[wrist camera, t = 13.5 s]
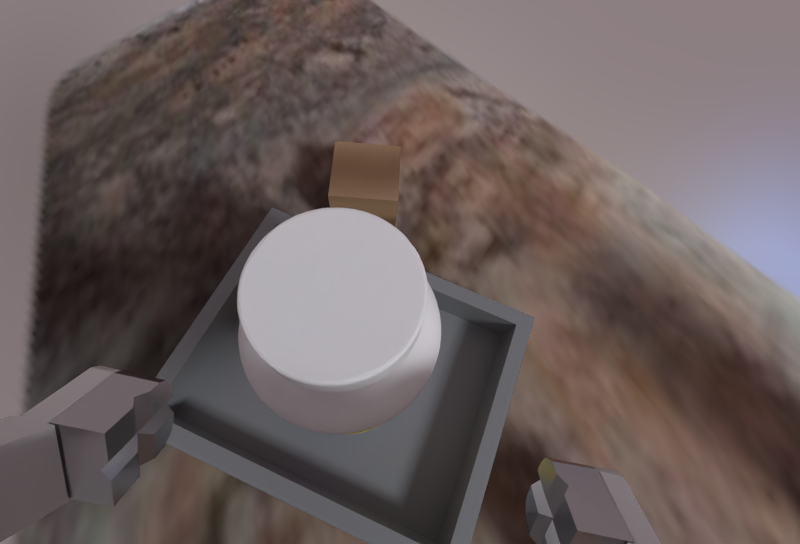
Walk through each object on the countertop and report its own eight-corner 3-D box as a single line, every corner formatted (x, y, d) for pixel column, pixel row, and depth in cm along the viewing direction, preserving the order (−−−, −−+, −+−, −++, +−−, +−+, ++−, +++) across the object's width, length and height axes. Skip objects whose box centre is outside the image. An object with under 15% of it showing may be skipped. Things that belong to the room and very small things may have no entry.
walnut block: (393, 235, 25) (398, 200, 22) (333, 230, 25) (328, 195, 22) (395, 186, 27) (400, 146, 23) (339, 181, 27) (335, 141, 23)
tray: (444, 565, 18) (458, 587, 16) (158, 424, 20) (124, 422, 17) (514, 331, 23) (534, 317, 21) (282, 232, 25) (271, 207, 22)
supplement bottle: (265, 364, 21) (133, 267, 9) (359, 290, 23) (352, 136, 11) (342, 465, 19) (304, 509, 7) (435, 376, 21) (522, 299, 10)
